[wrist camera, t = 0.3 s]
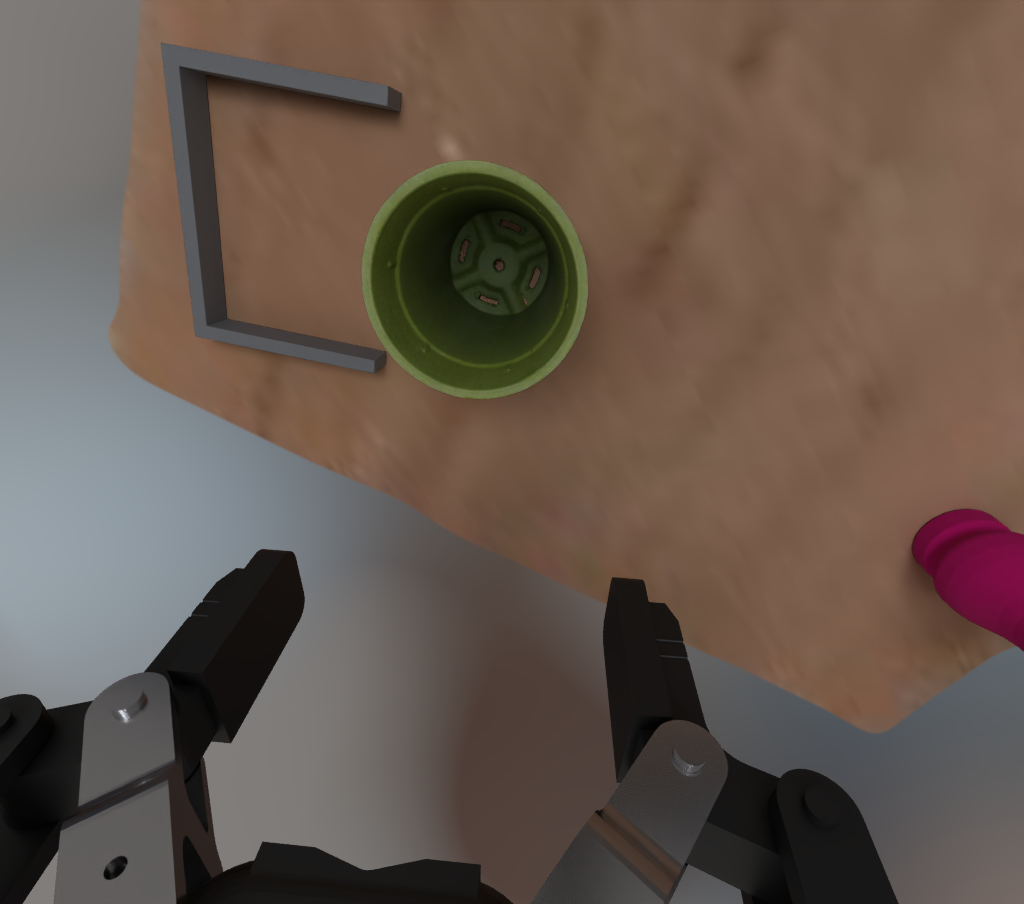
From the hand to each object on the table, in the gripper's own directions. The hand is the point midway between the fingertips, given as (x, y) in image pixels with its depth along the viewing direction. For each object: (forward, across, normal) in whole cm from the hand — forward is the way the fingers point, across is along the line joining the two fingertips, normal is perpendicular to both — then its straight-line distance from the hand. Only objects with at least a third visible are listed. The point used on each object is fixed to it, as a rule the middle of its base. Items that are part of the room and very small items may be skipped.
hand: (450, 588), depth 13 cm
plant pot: (+29, +1, -3) cm, 29 cm away
